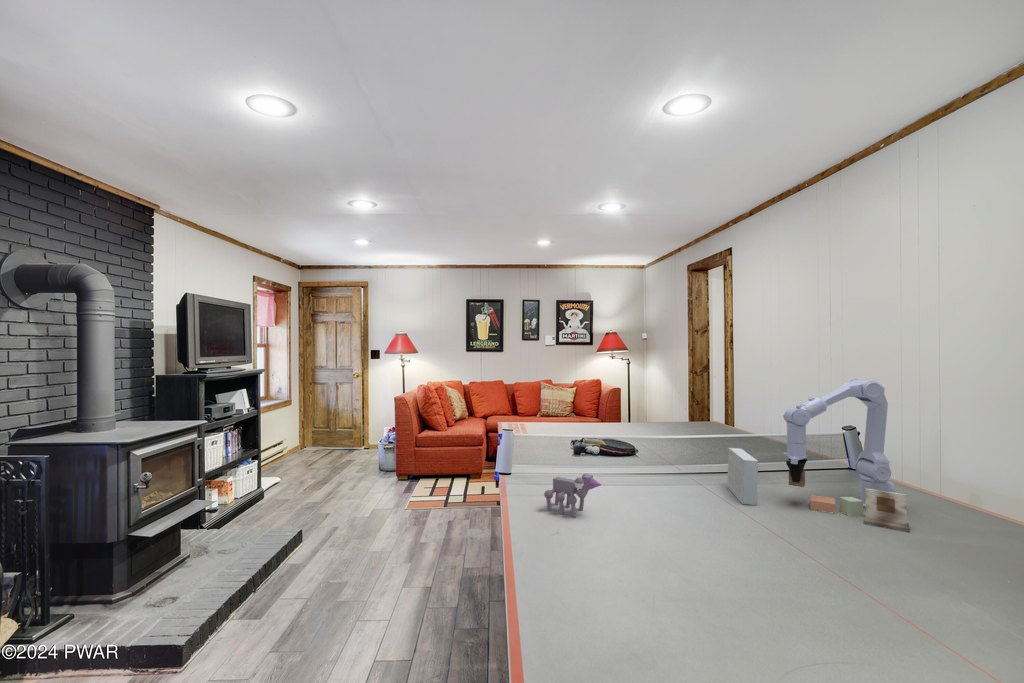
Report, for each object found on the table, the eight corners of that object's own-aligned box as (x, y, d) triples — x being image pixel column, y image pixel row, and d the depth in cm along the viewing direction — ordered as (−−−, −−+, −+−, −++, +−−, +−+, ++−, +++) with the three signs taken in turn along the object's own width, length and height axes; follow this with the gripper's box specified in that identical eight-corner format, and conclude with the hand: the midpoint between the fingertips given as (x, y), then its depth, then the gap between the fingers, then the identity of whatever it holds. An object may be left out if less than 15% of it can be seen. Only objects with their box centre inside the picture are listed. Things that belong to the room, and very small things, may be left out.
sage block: (852, 511, 156) (852, 496, 156) (863, 516, 151) (863, 501, 152) (839, 511, 156) (839, 497, 156) (850, 516, 151) (849, 501, 151)
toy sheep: (609, 513, 155) (607, 473, 155) (595, 525, 146) (594, 483, 146) (557, 502, 167) (556, 464, 166) (541, 512, 158) (540, 473, 158)
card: (908, 526, 143) (908, 493, 143) (909, 532, 138) (909, 499, 138) (864, 518, 150) (863, 487, 150) (863, 523, 145) (863, 491, 145)
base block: (810, 504, 164) (810, 494, 164) (834, 508, 160) (834, 498, 160) (810, 510, 158) (810, 500, 158) (835, 514, 154) (835, 504, 154)
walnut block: (790, 481, 167) (790, 467, 167) (805, 484, 164) (805, 469, 164) (788, 484, 163) (788, 470, 163) (803, 487, 160) (803, 472, 160)
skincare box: (759, 505, 162) (758, 460, 162) (742, 504, 163) (741, 460, 163) (741, 487, 183) (741, 447, 183) (727, 486, 184) (726, 447, 184)
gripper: (786, 437, 172) (786, 473, 172) (780, 444, 160) (780, 483, 160) (808, 439, 167) (809, 477, 167) (804, 446, 156) (804, 486, 156)
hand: (796, 480), depth 163 cm, fingers closed on walnut block, 4 cm apart
